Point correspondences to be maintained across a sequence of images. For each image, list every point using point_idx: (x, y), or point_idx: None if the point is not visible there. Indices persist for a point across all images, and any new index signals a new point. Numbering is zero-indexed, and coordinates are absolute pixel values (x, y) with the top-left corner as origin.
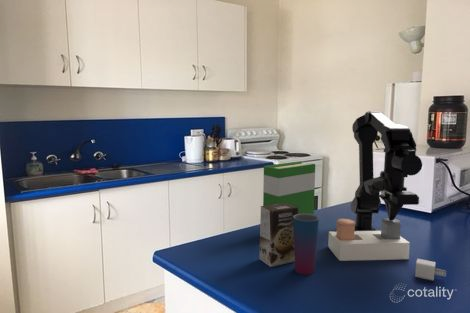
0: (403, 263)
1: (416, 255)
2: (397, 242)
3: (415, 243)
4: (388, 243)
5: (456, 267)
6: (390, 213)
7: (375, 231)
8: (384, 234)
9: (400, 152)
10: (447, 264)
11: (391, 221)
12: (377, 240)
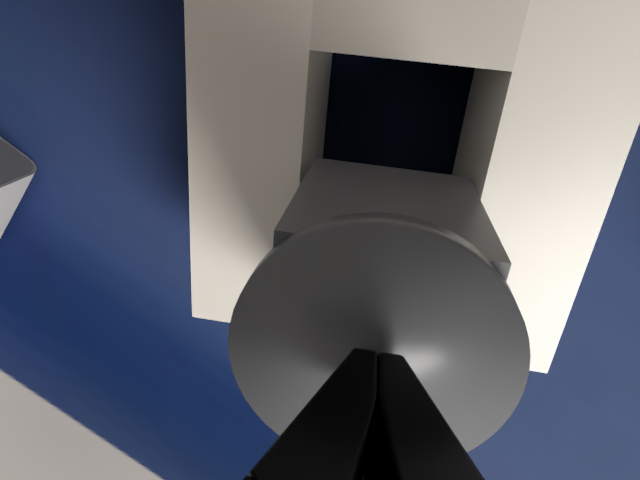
0: (171, 166)
1: None
2: (204, 213)
3: (490, 455)
4: (187, 103)
5: (117, 415)
6: (288, 427)
7: (590, 177)
8: (374, 179)
9: None
10: (154, 402)
11: (327, 341)
12: (279, 14)
